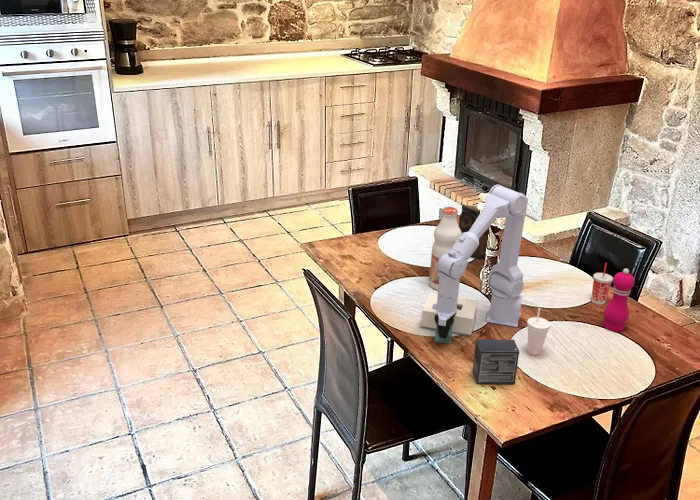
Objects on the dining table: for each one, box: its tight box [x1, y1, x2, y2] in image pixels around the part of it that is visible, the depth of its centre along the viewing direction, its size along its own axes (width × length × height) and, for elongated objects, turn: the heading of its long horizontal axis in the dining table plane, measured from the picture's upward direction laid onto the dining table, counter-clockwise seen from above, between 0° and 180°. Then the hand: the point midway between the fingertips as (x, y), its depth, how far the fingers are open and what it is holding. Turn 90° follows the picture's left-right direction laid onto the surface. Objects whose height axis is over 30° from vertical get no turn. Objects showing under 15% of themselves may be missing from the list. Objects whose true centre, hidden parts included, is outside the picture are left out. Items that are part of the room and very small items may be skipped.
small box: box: [471, 338, 520, 385], centre depth 181 cm, size 11×6×10 cm, turn 92°
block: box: [434, 324, 453, 345], centre depth 198 cm, size 4×2×6 cm, turn 73°
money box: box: [420, 292, 479, 337], centre depth 208 cm, size 15×12×6 cm
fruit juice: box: [428, 206, 462, 291], centre depth 226 cm, size 9×9×28 cm
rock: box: [458, 203, 490, 261], centre depth 251 cm, size 13×13×20 cm
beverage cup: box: [590, 262, 614, 305], centre depth 222 cm, size 6×6×14 cm
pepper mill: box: [602, 268, 635, 333], centre depth 206 cm, size 7×7×20 cm
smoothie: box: [526, 307, 551, 356], centre depth 193 cm, size 6×6×14 cm
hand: (443, 334), depth 198 cm, fingers closed on block, 2 cm apart
